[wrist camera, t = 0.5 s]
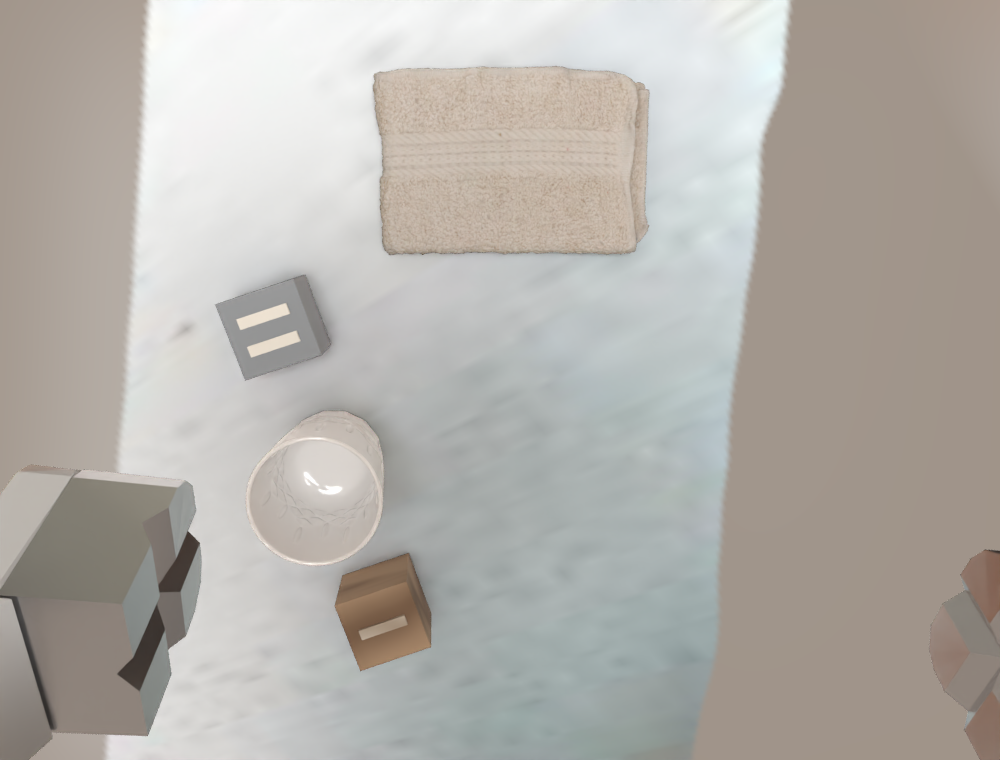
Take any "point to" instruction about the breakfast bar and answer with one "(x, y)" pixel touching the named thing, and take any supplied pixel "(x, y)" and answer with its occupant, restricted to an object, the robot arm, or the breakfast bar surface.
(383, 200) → the washcloth
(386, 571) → the walnut block
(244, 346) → the slate-grey block
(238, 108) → the breakfast bar surface
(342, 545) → the white cup
